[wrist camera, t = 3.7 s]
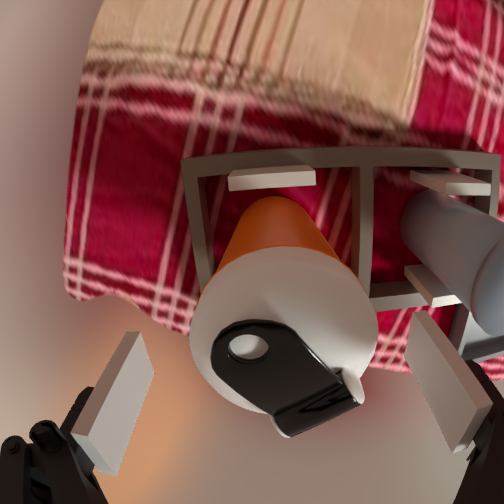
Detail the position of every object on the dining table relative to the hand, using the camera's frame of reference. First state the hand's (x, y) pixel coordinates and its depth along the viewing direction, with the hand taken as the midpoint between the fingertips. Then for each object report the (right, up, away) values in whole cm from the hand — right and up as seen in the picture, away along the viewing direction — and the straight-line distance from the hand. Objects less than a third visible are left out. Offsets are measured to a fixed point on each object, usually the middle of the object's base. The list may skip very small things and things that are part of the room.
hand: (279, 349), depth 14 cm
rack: (+9, +7, +15) cm, 19 cm away
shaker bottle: (+1, +6, +16) cm, 17 cm away
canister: (+17, +7, +15) cm, 24 cm away
